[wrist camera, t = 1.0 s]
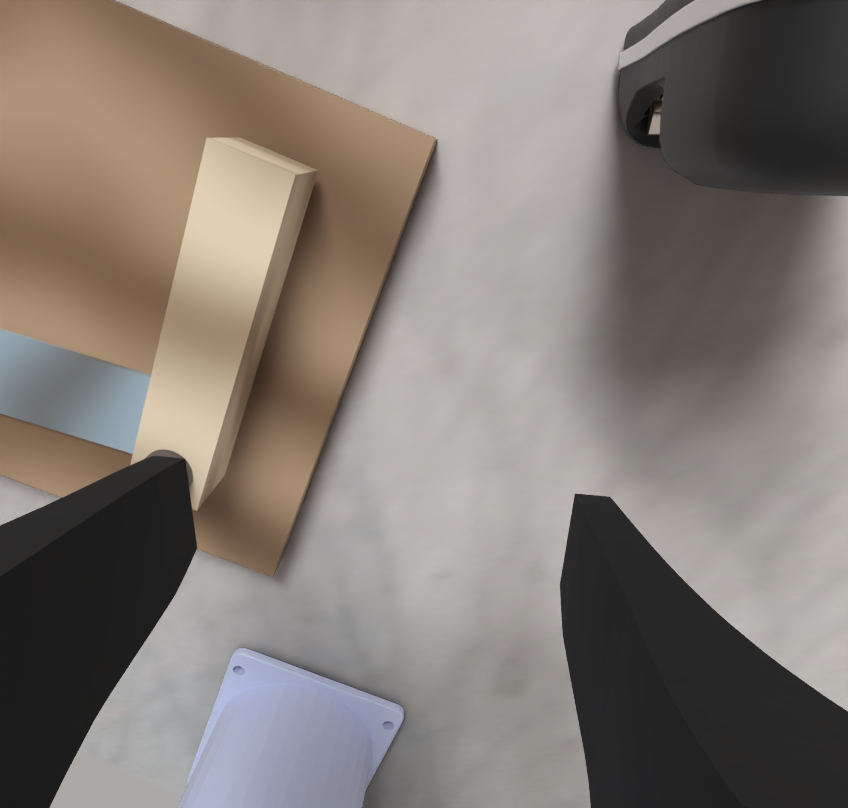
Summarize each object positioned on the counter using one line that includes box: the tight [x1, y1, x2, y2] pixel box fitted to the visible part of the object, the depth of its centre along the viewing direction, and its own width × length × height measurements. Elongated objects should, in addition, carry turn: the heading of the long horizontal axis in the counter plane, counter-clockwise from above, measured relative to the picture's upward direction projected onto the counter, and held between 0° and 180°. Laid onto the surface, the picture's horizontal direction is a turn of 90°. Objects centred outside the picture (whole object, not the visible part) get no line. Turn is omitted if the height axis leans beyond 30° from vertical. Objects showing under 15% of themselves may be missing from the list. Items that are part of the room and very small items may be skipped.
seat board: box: [0, 0, 437, 577], centre depth 22 cm, size 17×15×2 cm
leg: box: [130, 138, 318, 511], centre depth 19 cm, size 11×2×3 cm, turn 159°
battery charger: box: [618, 0, 848, 196], centre depth 13 cm, size 7×4×11 cm, turn 89°
